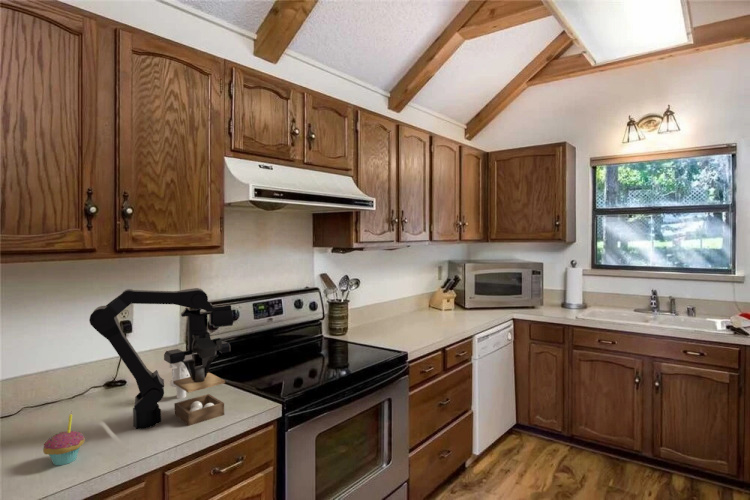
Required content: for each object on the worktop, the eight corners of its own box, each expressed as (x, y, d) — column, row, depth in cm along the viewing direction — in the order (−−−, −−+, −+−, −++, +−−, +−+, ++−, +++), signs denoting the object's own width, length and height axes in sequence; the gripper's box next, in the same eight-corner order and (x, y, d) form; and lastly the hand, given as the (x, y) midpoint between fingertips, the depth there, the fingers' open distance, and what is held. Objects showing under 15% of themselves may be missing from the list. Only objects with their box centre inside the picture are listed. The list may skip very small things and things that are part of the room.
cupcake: (68, 450, 115) (67, 405, 115) (93, 455, 113) (92, 409, 112) (35, 467, 107) (33, 419, 107) (61, 472, 105) (59, 423, 104)
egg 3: (206, 417, 133) (206, 406, 133) (201, 414, 136) (201, 403, 136) (217, 414, 136) (217, 403, 136) (212, 411, 139) (212, 400, 138)
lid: (188, 392, 127) (187, 376, 127) (173, 383, 135) (173, 368, 135) (225, 383, 135) (224, 367, 135) (209, 374, 144) (208, 360, 143)
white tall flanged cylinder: (173, 396, 154) (172, 354, 153) (194, 394, 155) (193, 353, 155) (167, 403, 147) (166, 359, 146) (189, 402, 148) (189, 358, 148)
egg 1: (193, 416, 135) (192, 404, 135) (188, 412, 137) (188, 401, 137) (204, 412, 137) (204, 401, 137) (199, 409, 140) (199, 398, 140)
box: (188, 428, 128) (188, 413, 128) (174, 417, 136) (174, 403, 136) (224, 417, 136) (224, 403, 136) (208, 407, 144) (208, 393, 143)
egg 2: (191, 422, 130) (191, 410, 130) (186, 418, 133) (186, 407, 133) (203, 418, 133) (202, 407, 133) (198, 415, 135) (197, 404, 135)
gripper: (177, 338, 122) (178, 393, 123) (238, 328, 136) (239, 377, 136) (162, 332, 130) (164, 383, 131) (222, 323, 144) (223, 369, 144)
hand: (199, 378), depth 135 cm, fingers closed on lid, 3 cm apart
